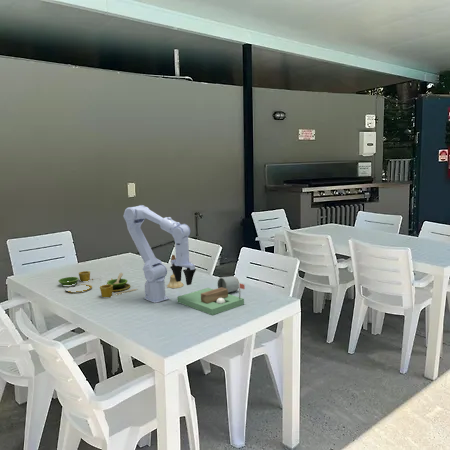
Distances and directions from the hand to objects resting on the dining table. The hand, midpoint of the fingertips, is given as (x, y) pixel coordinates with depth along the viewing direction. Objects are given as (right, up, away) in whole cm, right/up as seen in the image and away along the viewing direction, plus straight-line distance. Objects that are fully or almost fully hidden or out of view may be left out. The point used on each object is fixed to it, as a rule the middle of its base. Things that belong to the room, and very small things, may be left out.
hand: (183, 282), depth 193 cm
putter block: (+14, -7, -2) cm, 15 cm away
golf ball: (+16, -8, -5) cm, 19 cm away
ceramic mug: (+19, -7, +17) cm, 26 cm away
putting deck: (+12, -9, +1) cm, 15 cm away
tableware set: (-47, -7, +30) cm, 57 cm away
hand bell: (-7, -6, +28) cm, 30 cm away
